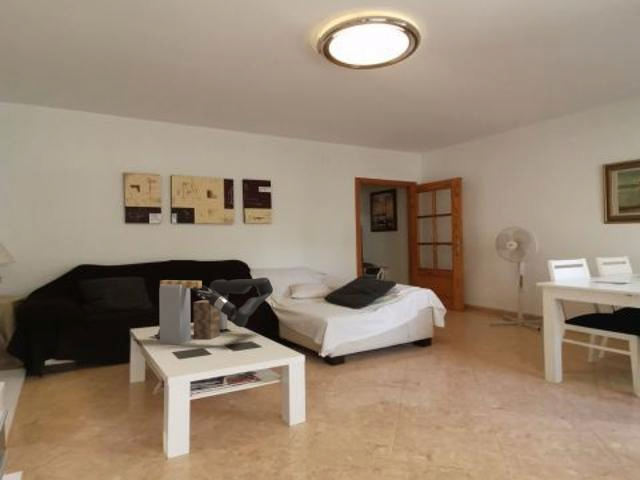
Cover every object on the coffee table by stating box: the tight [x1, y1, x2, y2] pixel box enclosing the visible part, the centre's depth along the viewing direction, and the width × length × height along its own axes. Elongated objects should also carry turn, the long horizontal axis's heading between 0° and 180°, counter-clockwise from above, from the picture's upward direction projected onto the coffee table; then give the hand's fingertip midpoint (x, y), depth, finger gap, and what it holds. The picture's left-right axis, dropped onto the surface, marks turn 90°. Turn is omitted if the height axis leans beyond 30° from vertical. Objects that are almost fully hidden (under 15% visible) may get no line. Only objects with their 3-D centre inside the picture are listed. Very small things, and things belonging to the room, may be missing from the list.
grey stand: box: [158, 284, 192, 345], centre depth 242 cm, size 14×10×34 cm
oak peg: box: [159, 279, 203, 289], centre depth 241 cm, size 26×4×4 cm, turn 72°
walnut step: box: [192, 299, 221, 340], centre depth 254 cm, size 12×10×22 cm
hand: (197, 287), depth 238 cm, fingers open, 8 cm apart
